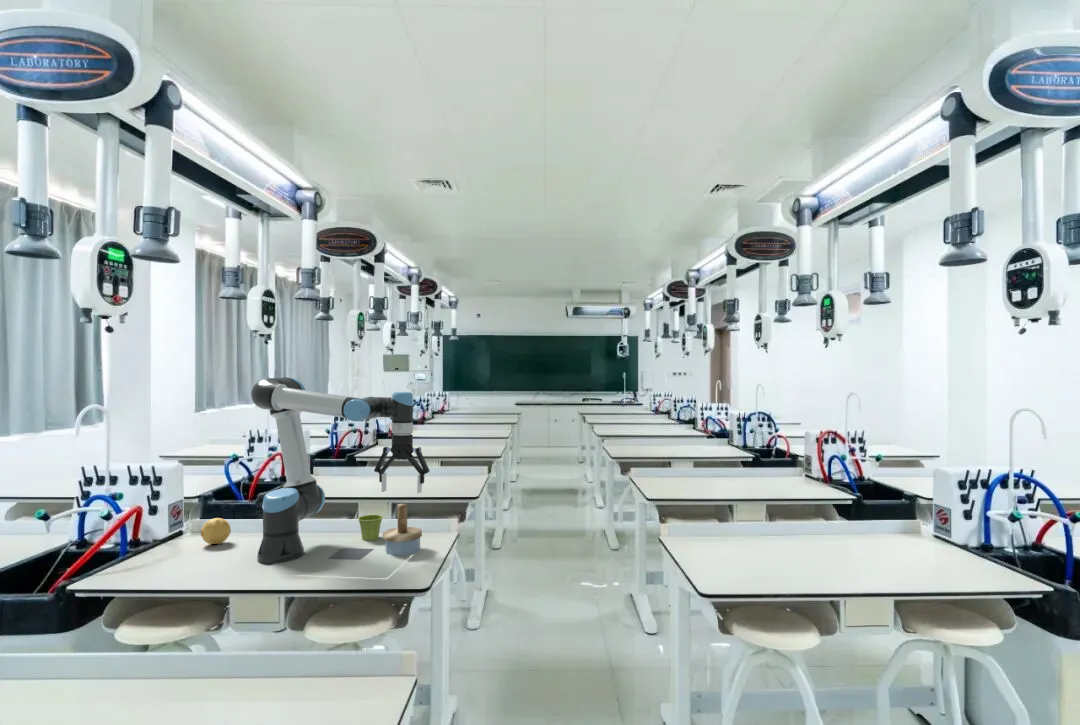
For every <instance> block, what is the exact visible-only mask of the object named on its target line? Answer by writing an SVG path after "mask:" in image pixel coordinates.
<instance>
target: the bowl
mask: <svg viewBox="0 0 1080 725" xmlns="http://www.w3.org/2000/svg"><path fill="white" fill-rule="evenodd" d="M384 541H385V544H384V546H385V547H384V548H385V553H386V554H387V555H391V556H405V555H406V556H407V555H411V556H412V555H416V554H418V553H419V552H420V551H421V537H420V538H418V539H415V540H411V541H405V542H390V541H386V540H384Z"/></svg>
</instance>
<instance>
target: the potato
mask: <svg viewBox="0 0 1080 725" xmlns="http://www.w3.org/2000/svg"><path fill="white" fill-rule="evenodd" d="M231 531H232V530H231V525H230V523H229V522H228V521H227V520H226V519H224V518H220V517H215V518H211V519H209V520H208V521H206V522H205V523H204V525H203V526H202V528H201V529H200V536H201V538H202V540H203V541H204V542H205V543H207V544H209V545H212V544H219V545H221V544H222V543H223V542H226V540H227V539H228V537H229V536H230V534H231Z"/></svg>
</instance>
